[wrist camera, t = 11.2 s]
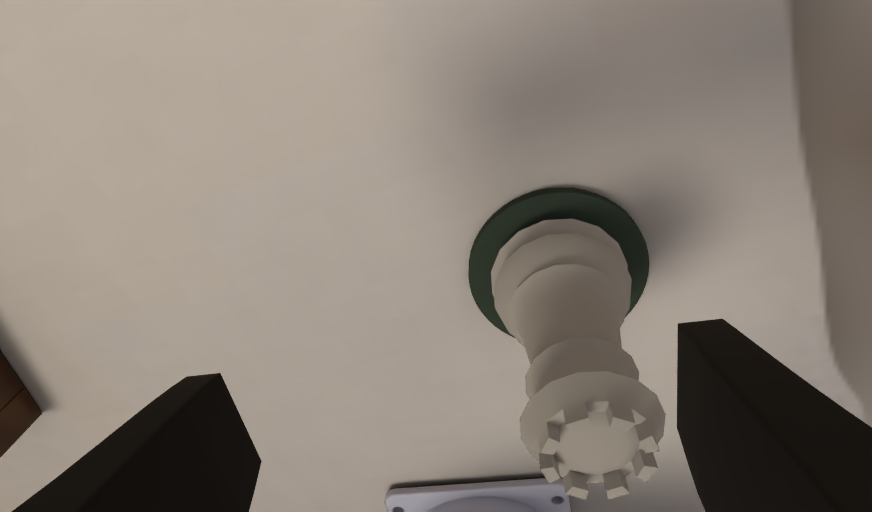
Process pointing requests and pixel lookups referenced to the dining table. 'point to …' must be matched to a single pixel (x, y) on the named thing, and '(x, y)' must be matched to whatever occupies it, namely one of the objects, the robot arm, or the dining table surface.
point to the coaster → (552, 208)
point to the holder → (14, 407)
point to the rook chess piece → (577, 356)
